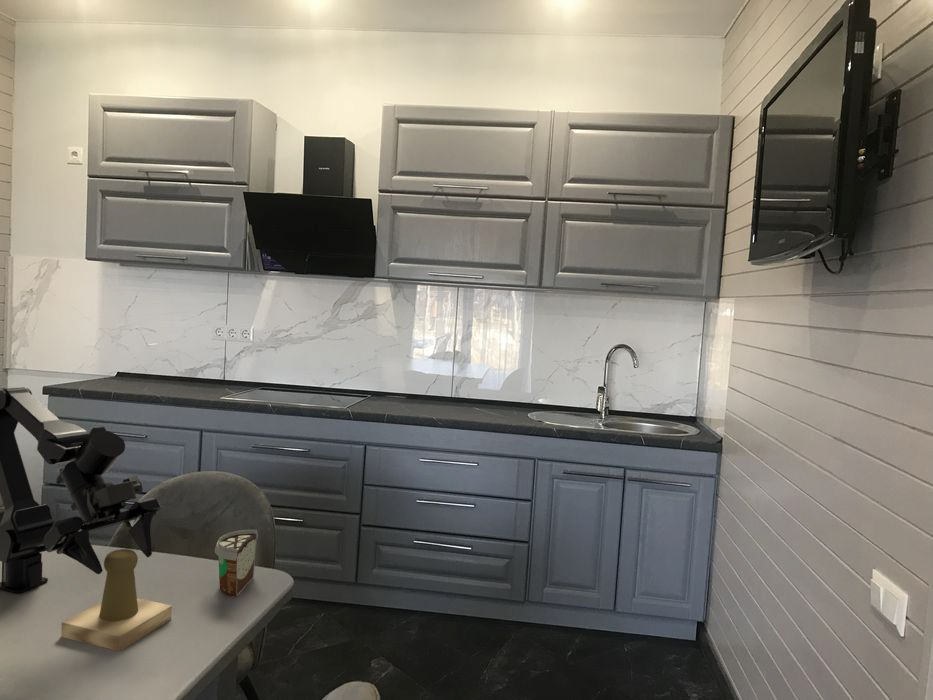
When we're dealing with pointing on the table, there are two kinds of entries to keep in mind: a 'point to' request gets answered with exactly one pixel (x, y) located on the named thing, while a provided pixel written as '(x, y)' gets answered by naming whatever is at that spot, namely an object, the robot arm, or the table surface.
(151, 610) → the oak board
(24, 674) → the table surface
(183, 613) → the table surface
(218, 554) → the food container
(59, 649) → the table surface
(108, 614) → the cork
